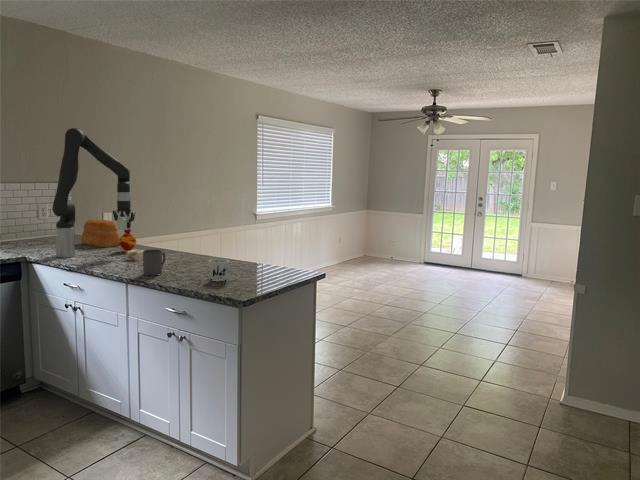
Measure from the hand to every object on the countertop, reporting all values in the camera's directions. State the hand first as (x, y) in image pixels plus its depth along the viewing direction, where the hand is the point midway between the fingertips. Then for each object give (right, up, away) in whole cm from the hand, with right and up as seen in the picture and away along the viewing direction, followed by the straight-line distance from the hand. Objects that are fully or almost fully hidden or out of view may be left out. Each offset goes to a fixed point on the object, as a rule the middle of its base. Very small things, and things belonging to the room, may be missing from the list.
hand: (124, 228), depth 294 cm
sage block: (0, -1, 0) cm, 1 cm away
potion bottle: (-5, -15, +17) cm, 23 cm away
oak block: (+10, -19, -5) cm, 22 cm away
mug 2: (+66, -27, -49) cm, 87 cm away
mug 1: (+33, -25, -40) cm, 57 cm away
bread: (-32, -11, +40) cm, 52 cm away
